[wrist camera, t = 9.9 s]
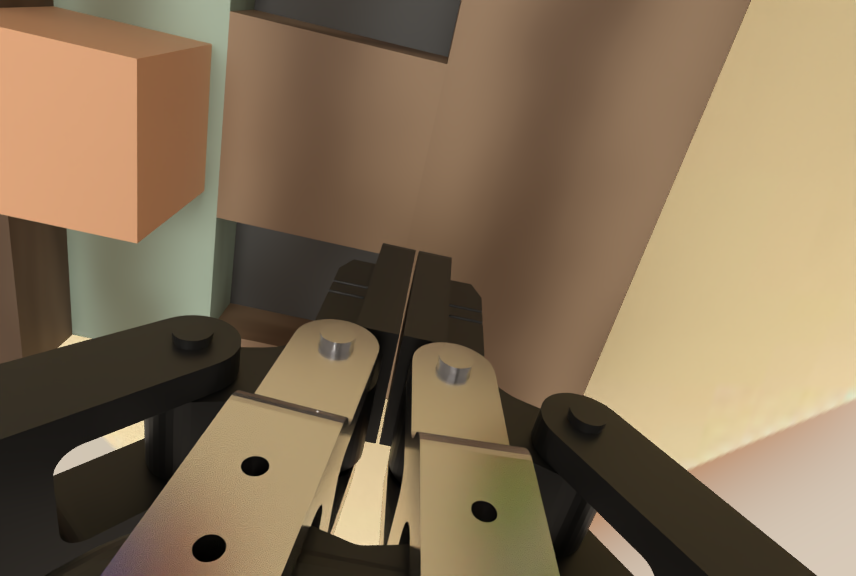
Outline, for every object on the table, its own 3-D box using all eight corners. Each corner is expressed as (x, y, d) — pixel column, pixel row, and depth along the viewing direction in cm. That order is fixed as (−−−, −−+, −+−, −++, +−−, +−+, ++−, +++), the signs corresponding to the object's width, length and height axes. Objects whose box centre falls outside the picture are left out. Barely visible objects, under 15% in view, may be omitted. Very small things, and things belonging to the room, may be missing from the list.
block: (212, 44, 19) (136, 58, 14) (204, 190, 21) (136, 243, 17) (53, 6, 19) (-74, 9, 14) (63, 159, 21) (-45, 204, 16)
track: (747, -90, 19) (861, -124, 14) (555, 393, 28) (579, 488, 23) (65, -275, 18) (-103, -391, 12) (88, 295, 27) (-4, 371, 21)
